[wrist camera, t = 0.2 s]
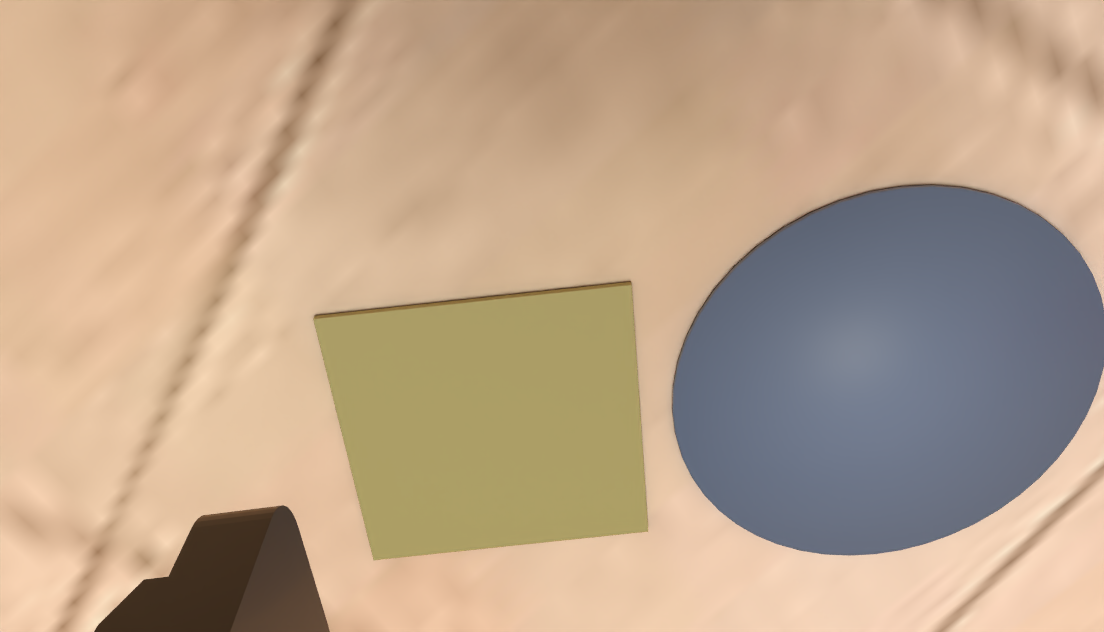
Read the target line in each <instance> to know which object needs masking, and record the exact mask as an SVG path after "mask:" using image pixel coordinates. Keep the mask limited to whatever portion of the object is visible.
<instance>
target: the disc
mask: <svg viewBox="0 0 1104 632" xmlns="http://www.w3.org/2000/svg"><path fill="white" fill-rule="evenodd" d="M1103 367H1104V308H1103V303H1102V298H1101V295H1100V292H1099V290H1098V287H1097V285H1096V282H1095V279H1094V277H1093V274H1092V273H1091V271H1090V269H1089V268H1088V266H1087V264H1086V263H1085V261H1084V259H1083V258H1082V256H1081V254H1080V253H1079V252H1078V251H1077V250H1076V249H1075V247H1074V246H1073V245H1072V244H1071V243H1070V242H1069V241H1068V239H1067V238H1066V237H1065V236H1064V235H1063V234H1062V233H1060V232H1059V231H1058V230H1057V229H1055V228H1054V227H1053V226H1052V225H1050V224H1049V223H1048V222H1047V221H1045V220H1044V219H1043V218H1042V217H1040V216H1039V215H1037V214H1035V213H1033V212H1032V211H1030V210H1028V209H1026V208H1024V207H1023V206H1021V205H1019V204H1017V203H1015V202H1012V201H1010V200H1007V199H1004V198H1002V197H999V196H996V195H994V194H991V193H987V192H982V191H977V190H973V189H968V188H964V187H953V186H941V185H918V186H900V187H894V188H888V189H882V190H876V191H871V192H867V193H863V194H860V195H857V196H853V197H850V198H846V199H843V200H839V201H837V202H835V203H832V204H830V205H827V206H825V207H823V208H820V209H818V210H816V211H813V212H811V213H809V214H807V215H805V216H803V217H801V218H800V219H798V220H796V221H794V222H793V223H791V224H789V225H787V226H785V227H784V228H782V229H780V230H779V231H778V232H776V233H775V234H773V235H772V236H771V237H769V238H768V239H766V240H765V241H764V242H762V243H761V244H759V245H758V246H757V247H755V248H754V249H753V250H752V251H751V252H750V253H749V254H748V255H747V256H745V257H744V258H743V259H742V260H741V261H740V262H739V263H738V264H737V265H735V266H734V267H733V268H732V270H731V271H730V272H729V273H728V274H727V275H726V276H725V278H724V279H723V280H722V281H721V282H720V283H719V284H718V286H717V287H716V288H715V289H714V290H713V292H712V293H711V295H710V296H709V298H708V299H707V301H706V302H705V304H704V305H703V307H702V308H701V310H700V311H699V313H698V314H697V316H696V318H695V320H694V322H693V324H692V326H691V328H690V330H689V332H688V334H687V336H686V339H685V342H684V344H683V347H682V350H681V353H680V356H679V359H678V362H677V368H676V373H675V378H674V384H673V404H672V412H673V419H674V427H675V434H676V437H677V441H678V444H679V448H680V451H681V454H682V458H683V460H684V462H685V464H686V466H687V468H688V470H689V472H690V474H691V476H692V478H693V479H694V481H695V482H696V484H697V485H698V487H699V488H700V489H701V491H702V492H703V494H704V495H705V496H706V497H707V498H708V499H709V500H710V501H711V502H712V504H713V505H714V506H715V507H716V508H717V509H718V510H719V511H720V512H722V513H723V514H724V515H726V516H727V517H728V518H729V519H731V520H732V521H733V522H735V523H736V524H737V525H739V526H741V527H743V528H744V529H746V530H748V531H750V532H751V533H753V534H755V535H757V536H759V537H761V538H764V539H766V540H769V541H771V542H774V543H776V544H779V545H782V546H786V547H790V548H793V549H797V550H801V551H807V552H813V553H820V554H830V555H866V554H878V553H885V552H891V551H898V550H903V549H907V548H911V547H915V546H919V545H923V544H926V543H929V542H932V541H935V540H938V539H940V538H943V537H946V536H949V535H951V534H954V533H956V532H958V531H960V530H962V529H964V528H967V527H969V526H971V525H973V524H975V523H977V522H979V521H980V520H982V519H984V518H986V517H987V516H989V515H991V514H993V513H994V512H996V511H998V510H999V509H1001V508H1002V507H1003V506H1005V505H1006V504H1008V503H1009V502H1010V501H1012V500H1013V499H1015V498H1016V497H1017V496H1019V495H1020V494H1021V493H1022V492H1024V491H1025V490H1026V489H1027V488H1028V487H1029V486H1031V485H1032V484H1033V483H1034V482H1035V481H1036V480H1037V479H1039V478H1040V477H1041V476H1042V475H1043V473H1044V472H1045V471H1046V470H1047V469H1048V468H1049V467H1050V466H1051V465H1052V464H1053V463H1054V462H1055V461H1056V460H1057V459H1058V457H1059V456H1060V455H1061V453H1062V452H1063V451H1064V449H1065V448H1066V447H1067V445H1068V444H1069V443H1070V441H1071V440H1072V439H1073V437H1074V436H1075V434H1076V432H1077V431H1078V429H1079V427H1080V426H1081V424H1082V422H1083V420H1084V419H1085V417H1086V415H1087V413H1088V411H1089V409H1090V406H1091V404H1092V402H1093V399H1094V397H1095V395H1096V392H1097V389H1098V385H1099V382H1100V378H1101V375H1102V371H1103Z"/></svg>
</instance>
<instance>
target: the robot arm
mask: <svg viewBox="0 0 1104 632" xmlns="http://www.w3.org/2000/svg"><path fill="white" fill-rule="evenodd" d="M94 632H330V631H329V627H328V624H327V621H326V617H325V614H324V611H323V607H322V604H321V601H320V597H319V594H318V591H317V588H316V584H315V581H314V578H313V574H312V571H311V568H310V564H309V561H308V558H307V555H306V551H305V548H304V545H303V541H302V538H301V535H300V531H299V528H298V525H297V522H296V520H295V518H294V515H293V514H292V512H291V511H290V509H289V508H288V507H286V506H284V505H283V506H275V507H267V508H259V509H251V510H243V511H235V512H227V513H219V514H211V515H203V516H201V517H200V518H198V519H197V521H196V522H195V523H194V525H193V527H192V529H191V531H190V533H189V535H188V537H187V539H186V541H185V543H184V545H183V547H182V549H181V552H180V554H179V556H178V558H177V560H176V562H175V564H174V566H173V568H172V570H171V572H170V575H169V577H163V578H154V579H146V580H143V581H142V582H141V583H140V584H139V585H138V586H137V587H136V588H135V589H134V590H133V591H132V592H131V593H130V594H129V595H128V596H127V597H126V598H125V599H124V600H123V601H122V602H121V603H120V604H119V605H118V606H117V607H116V608H115V609H114V610H113V611H112V612H111V613H110V614H109V615H108V616H107V617H106V618H105V619H104V620H103V621H102V622H101V623H100V624H99V625H98V626H97V628H96V630H95V631H94Z"/></svg>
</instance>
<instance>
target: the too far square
mask: <svg viewBox="0 0 1104 632" xmlns="http://www.w3.org/2000/svg"><path fill="white" fill-rule="evenodd" d="M313 320H314V324H315V328H316V332H317V336H318V340H319V344H320V348H321V352H322V356H323V360H324V364H325V368H326V372H327V376H328V380H329V384H330V388H331V392H332V396H333V400H334V404H335V408H336V412H337V416H338V420H339V424H340V428H341V432H342V436H343V440H344V444H345V447H346V451H347V455H348V459H349V463H350V467H351V471H352V475H353V479H354V483H355V487H356V491H357V495H358V499H359V503H360V507H361V511H362V515H363V519H364V523H365V527H366V531H367V535H368V539H369V543H370V547H371V551H372V555H373V559H374V560H380V559H390V558H399V557H409V556H418V555H428V554H437V553H447V552H457V551H466V550H476V549H485V548H495V547H504V546H514V545H523V544H533V543H543V542H552V541H562V540H571V539H581V538H590V537H600V536H609V535H619V534H629V533H638V532H648V522H647V507H646V492H645V477H644V463H643V448H642V433H641V418H640V404H639V389H638V374H637V359H636V345H635V330H634V315H633V300H632V285H631V282H624V283H615V284H605V285H596V286H587V287H577V288H568V289H559V290H550V291H540V292H531V293H522V294H513V295H503V296H494V297H485V298H475V299H466V300H457V301H448V302H438V303H429V304H420V305H411V306H401V307H392V308H383V309H374V310H364V311H355V312H346V313H336V314H327V315H318V316H314V319H313Z"/></svg>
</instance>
